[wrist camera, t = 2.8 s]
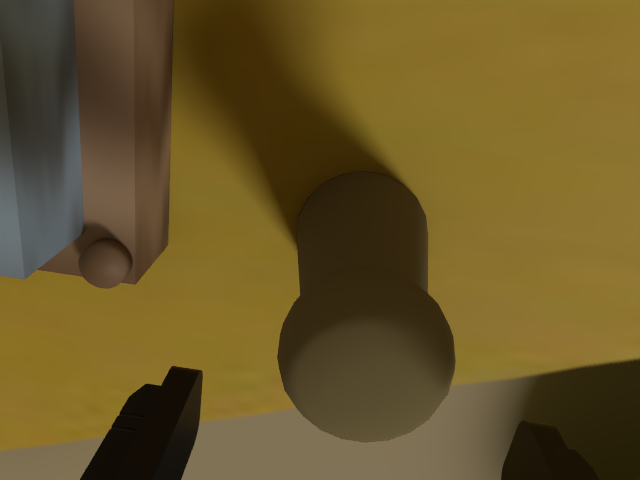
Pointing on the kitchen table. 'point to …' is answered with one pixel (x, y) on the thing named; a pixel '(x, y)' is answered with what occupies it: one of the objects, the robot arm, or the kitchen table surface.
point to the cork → (365, 313)
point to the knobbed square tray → (84, 137)
